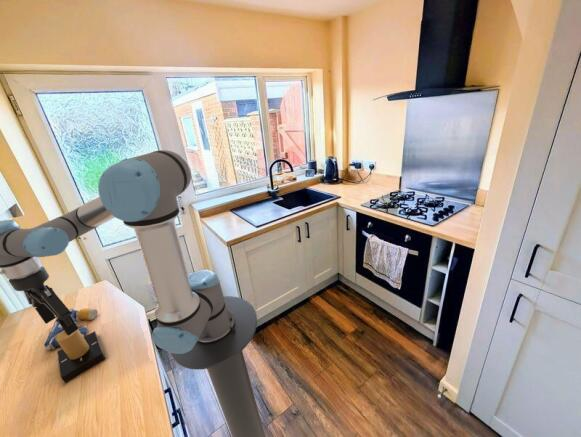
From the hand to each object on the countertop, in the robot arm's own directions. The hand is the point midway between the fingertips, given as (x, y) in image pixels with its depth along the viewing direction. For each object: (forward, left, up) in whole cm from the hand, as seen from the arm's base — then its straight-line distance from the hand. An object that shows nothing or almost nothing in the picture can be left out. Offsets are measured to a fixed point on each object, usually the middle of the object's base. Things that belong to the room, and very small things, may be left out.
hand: (61, 326), depth 79 cm
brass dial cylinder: (0, 0, -12) cm, 12 cm away
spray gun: (+20, 0, -16) cm, 25 cm away
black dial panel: (0, 0, -15) cm, 15 cm away
